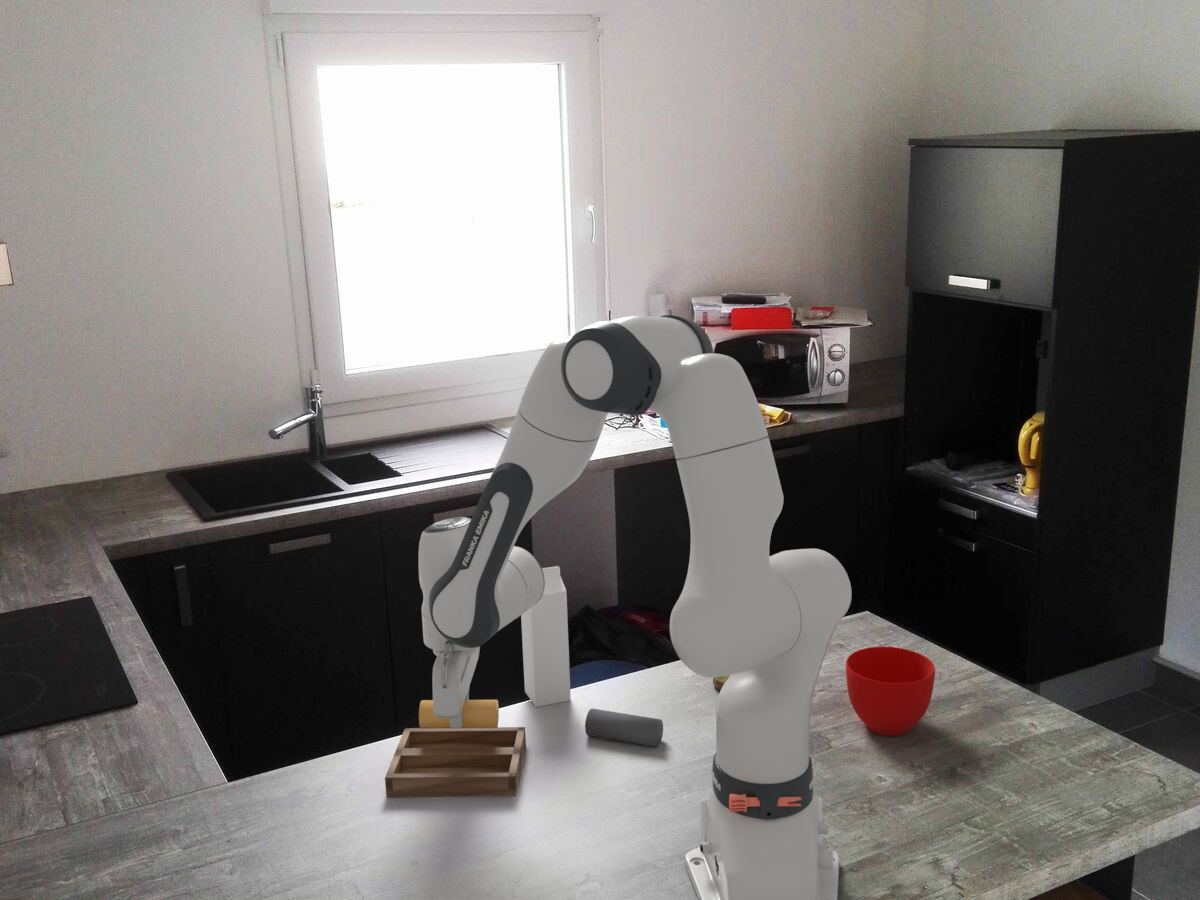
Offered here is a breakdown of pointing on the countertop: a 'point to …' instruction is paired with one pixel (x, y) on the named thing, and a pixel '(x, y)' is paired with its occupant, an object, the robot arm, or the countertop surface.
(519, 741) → the slot rack
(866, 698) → the ceramic cup
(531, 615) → the milk
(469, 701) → the orange rod
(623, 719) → the charcoal rod
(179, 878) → the countertop surface
